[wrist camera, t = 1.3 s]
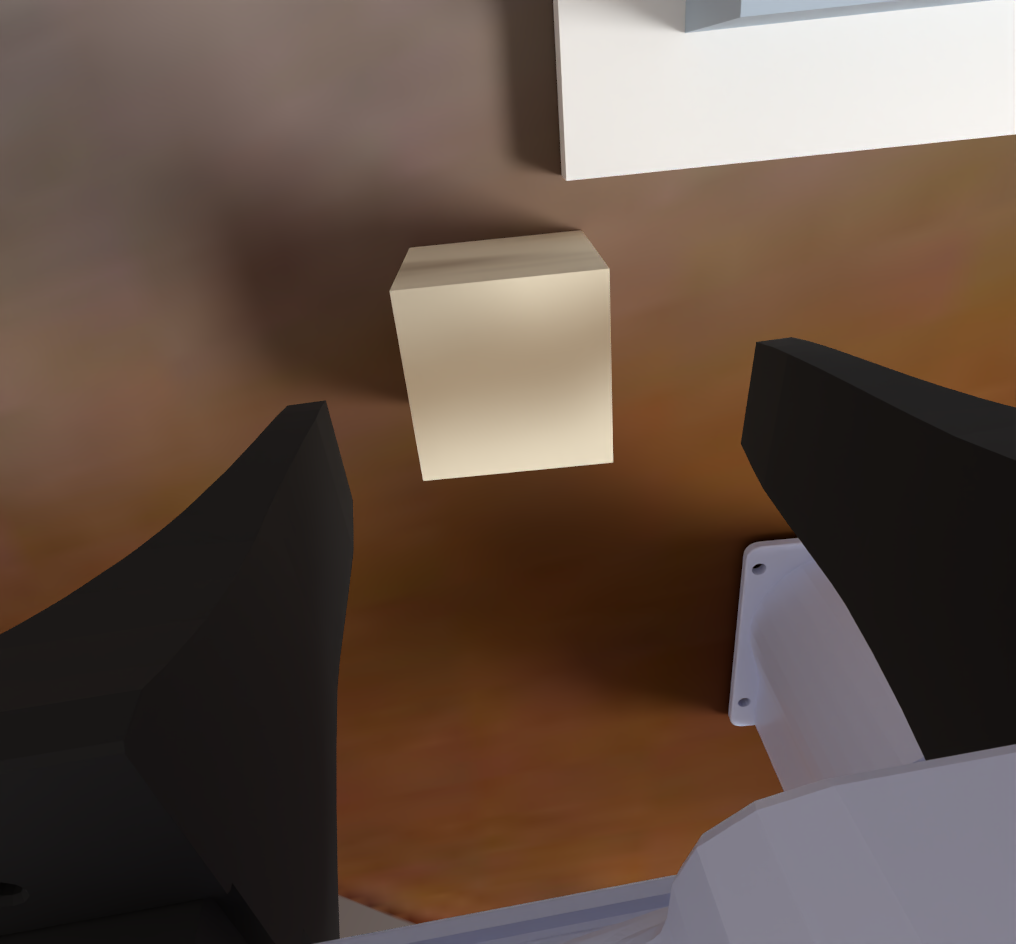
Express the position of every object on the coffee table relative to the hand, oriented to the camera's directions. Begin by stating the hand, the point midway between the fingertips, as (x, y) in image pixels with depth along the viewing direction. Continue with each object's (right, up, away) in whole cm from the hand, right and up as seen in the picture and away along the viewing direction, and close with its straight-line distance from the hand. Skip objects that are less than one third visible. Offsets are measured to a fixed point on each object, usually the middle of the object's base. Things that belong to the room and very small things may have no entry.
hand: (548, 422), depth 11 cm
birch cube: (-1, +4, +10) cm, 10 cm away
